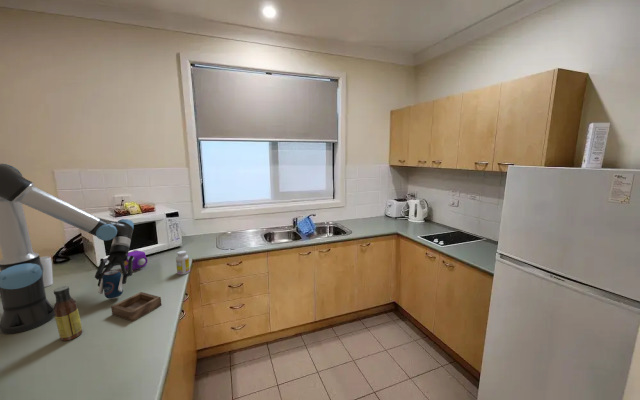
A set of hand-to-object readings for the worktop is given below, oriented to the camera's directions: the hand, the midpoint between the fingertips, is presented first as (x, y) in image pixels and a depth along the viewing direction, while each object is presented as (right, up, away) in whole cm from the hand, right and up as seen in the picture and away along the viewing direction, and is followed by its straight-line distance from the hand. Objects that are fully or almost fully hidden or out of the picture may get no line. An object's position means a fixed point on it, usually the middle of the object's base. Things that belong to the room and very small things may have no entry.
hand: (110, 291), depth 120 cm
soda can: (-1, -3, +4) cm, 5 cm away
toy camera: (-16, 0, +40) cm, 43 cm away
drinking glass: (-48, -3, +18) cm, 52 cm away
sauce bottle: (+3, -9, -22) cm, 24 cm away
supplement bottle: (+16, -1, +33) cm, 37 cm away
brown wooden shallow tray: (+16, -7, -4) cm, 18 cm away
